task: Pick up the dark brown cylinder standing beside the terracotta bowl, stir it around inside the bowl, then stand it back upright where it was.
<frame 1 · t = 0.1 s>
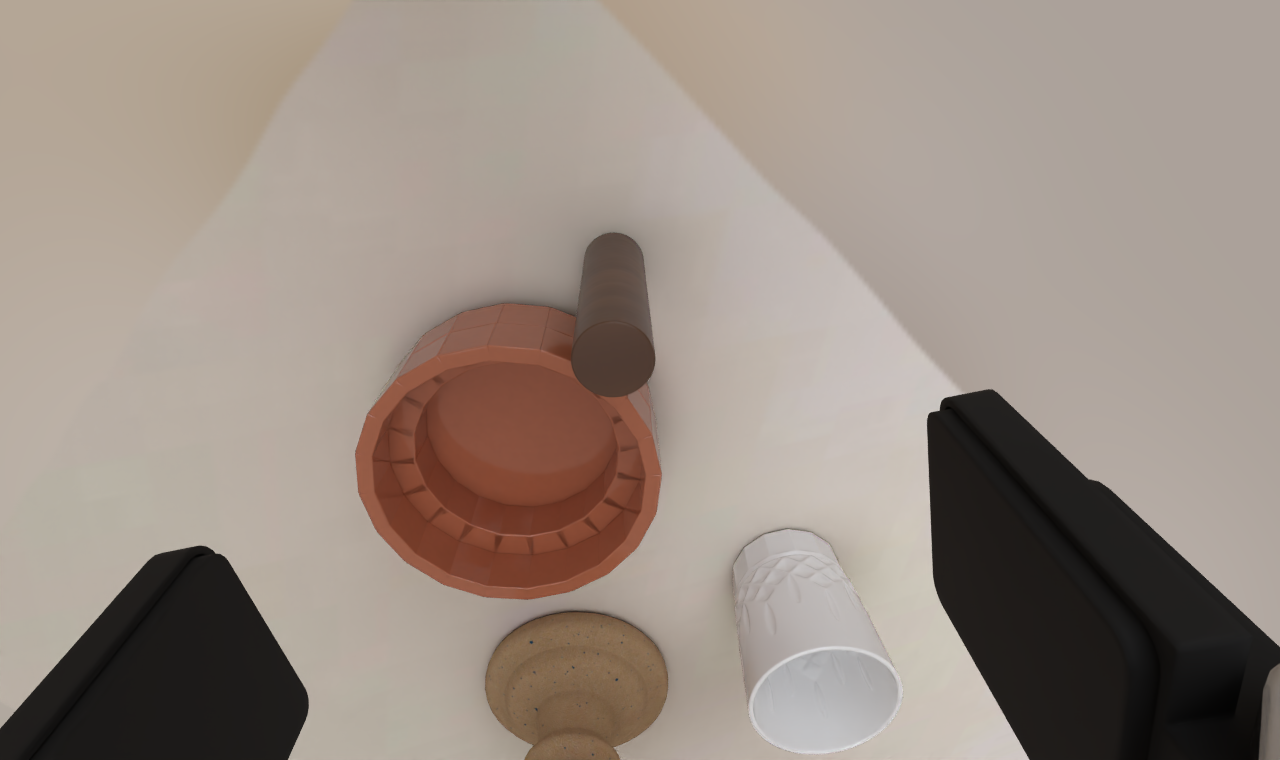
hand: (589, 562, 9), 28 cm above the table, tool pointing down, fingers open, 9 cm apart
candle holder: (577, 674, 49), on the table
dark brown cylinder: (613, 261, 36), on the table
bowl: (524, 423, 40), on the table
white cup: (783, 568, 45), on the table
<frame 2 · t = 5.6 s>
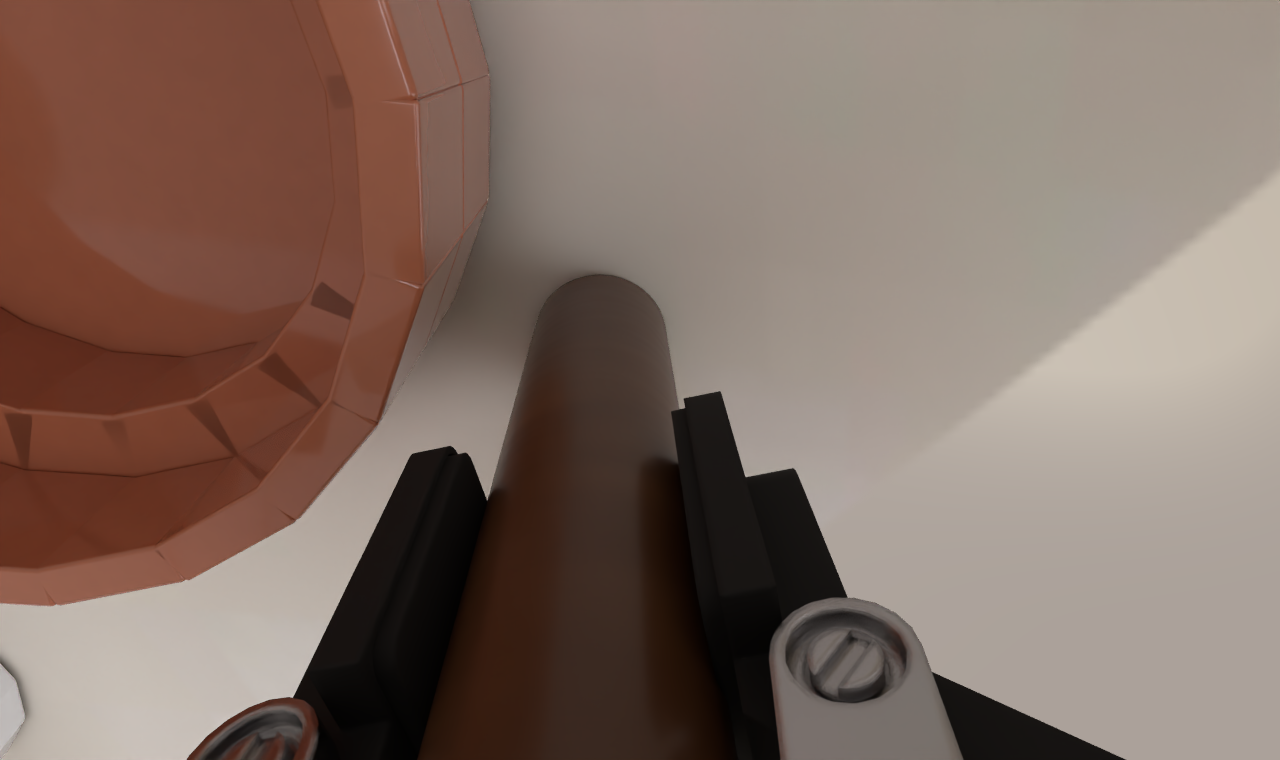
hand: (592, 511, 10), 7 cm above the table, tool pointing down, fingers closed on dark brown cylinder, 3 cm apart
dark brown cylinder: (600, 336, 16), on the table, touching gripper
bowl: (114, 95, 14), on the table
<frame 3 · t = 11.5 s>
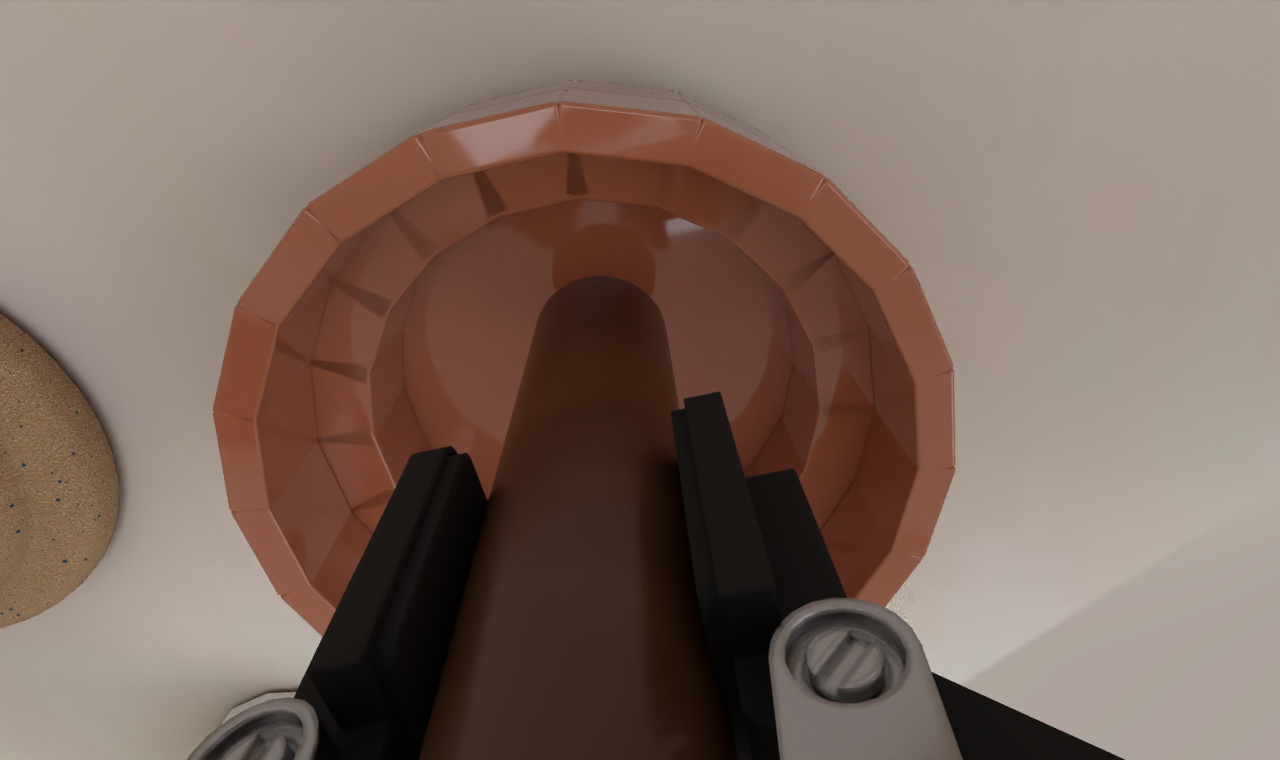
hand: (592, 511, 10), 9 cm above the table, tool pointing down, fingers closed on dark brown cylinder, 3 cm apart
dark brown cylinder: (601, 337, 16), point 3 cm above the table, touching gripper
bowl: (599, 365, 20), on the table
white cup: (313, 746, 27), on the table
when the fingers open (7 cm above the table, at t = 17.8 s): dark brown cylinder stays where it is, on the table.
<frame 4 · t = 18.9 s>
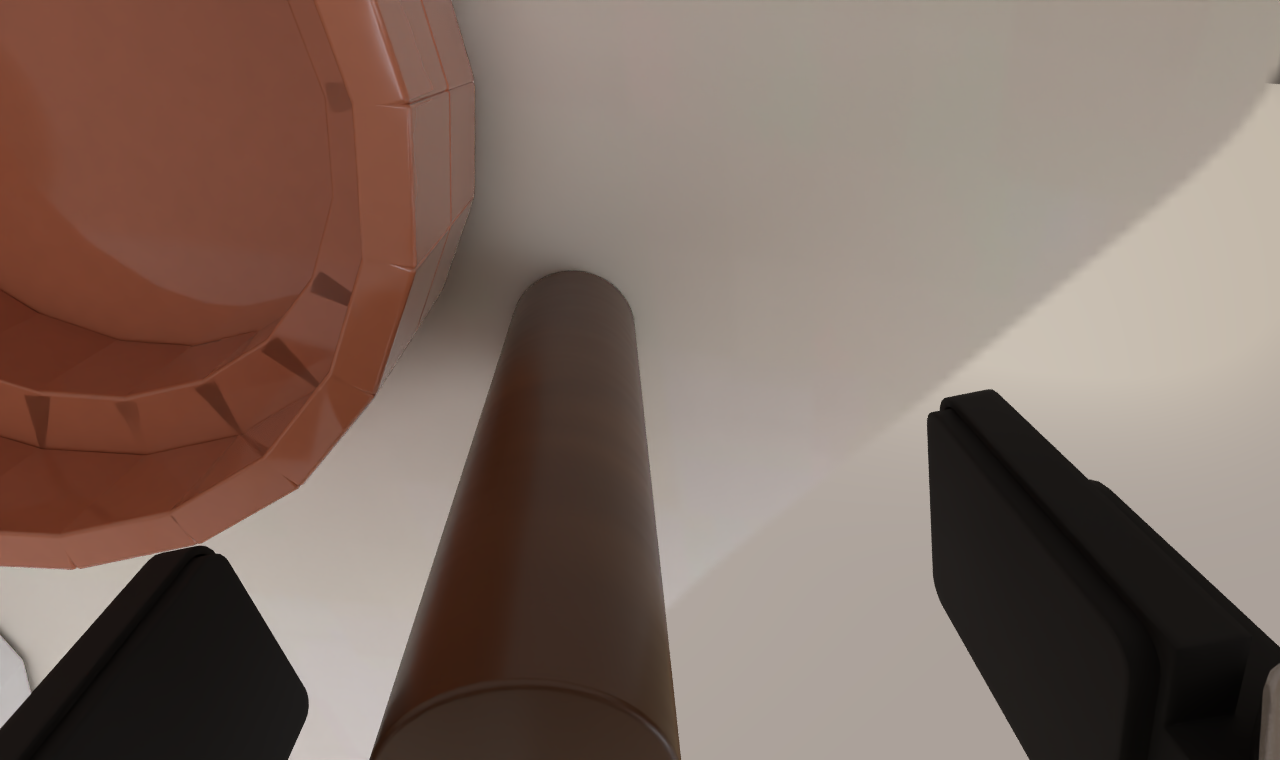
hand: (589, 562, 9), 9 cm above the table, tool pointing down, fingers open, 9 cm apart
dark brown cylinder: (573, 328, 18), on the table
bowl: (125, 101, 15), on the table
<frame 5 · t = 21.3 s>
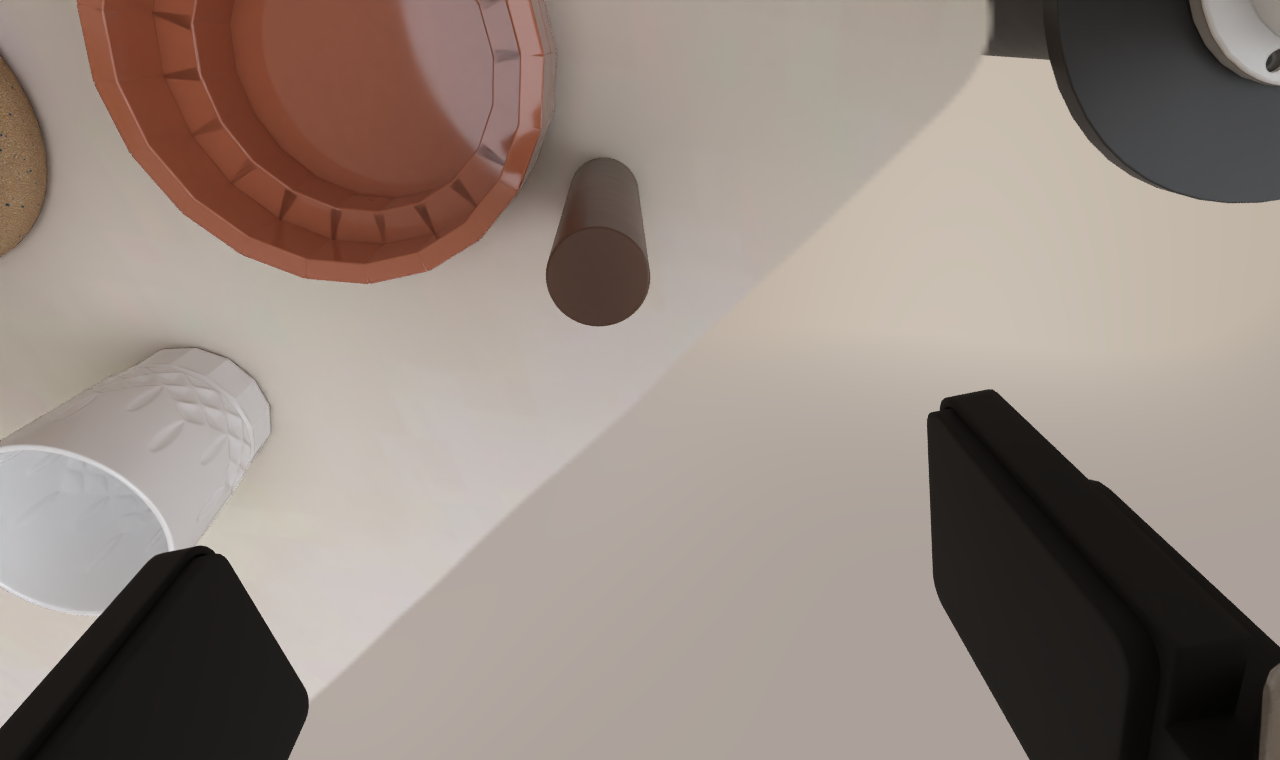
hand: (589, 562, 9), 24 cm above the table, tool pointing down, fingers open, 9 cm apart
dark brown cylinder: (604, 193, 31), on the table
bowl: (374, 61, 29), on the table
white cup: (204, 406, 35), on the table
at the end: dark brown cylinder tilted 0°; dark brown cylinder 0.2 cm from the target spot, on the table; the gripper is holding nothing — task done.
